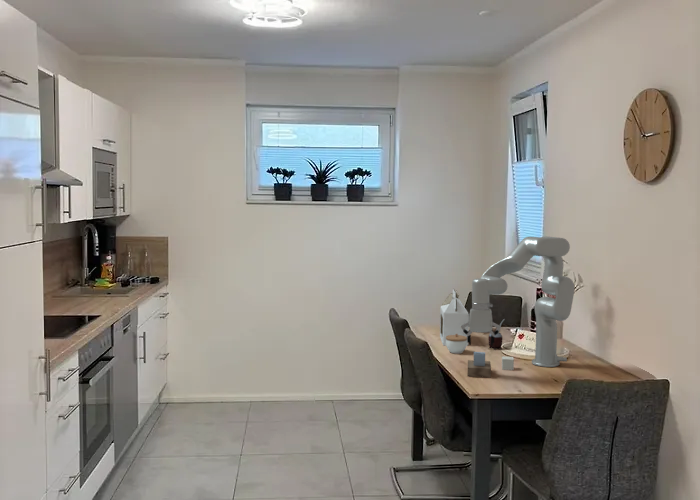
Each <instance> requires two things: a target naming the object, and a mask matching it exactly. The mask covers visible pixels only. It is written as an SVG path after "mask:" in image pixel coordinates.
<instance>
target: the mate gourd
mask: <svg viewBox="0 0 700 500" xmlns="http://www.w3.org/2000/svg"><path fill="white" fill-rule="evenodd" d="M505 320H506V319H505V318H504V319H502V321H500V323H499V326H502V325H503V322H504V321H505ZM500 331H501V329H500V330H499V332H498V333H497V334H496V335H495V336H494V343H493V345H491V334H490V333H489V335H488V348H489V349H493V351H494V350H497V349H498V350H502V347H503V335H502V333H501V332H500Z"/></svg>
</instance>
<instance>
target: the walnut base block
mask: <svg viewBox="0 0 700 500" xmlns="http://www.w3.org/2000/svg"><path fill="white" fill-rule="evenodd" d="M466 374H467V376H469V377H470V378H471V377H472V378H474V377H475V378H485V379H486V378H488V379H491V378H492V367H491V361H490V360H488V361H487V360H485V366H474V359H473V360H471V359H468V360H467V373H466Z"/></svg>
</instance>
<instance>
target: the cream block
mask: <svg viewBox="0 0 700 500" xmlns="http://www.w3.org/2000/svg"><path fill="white" fill-rule="evenodd" d="M514 364H515V358H514V357H513V356H505V355H504V356H501V370H504V371H514V369H515V368H514V367H515V366H514Z"/></svg>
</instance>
